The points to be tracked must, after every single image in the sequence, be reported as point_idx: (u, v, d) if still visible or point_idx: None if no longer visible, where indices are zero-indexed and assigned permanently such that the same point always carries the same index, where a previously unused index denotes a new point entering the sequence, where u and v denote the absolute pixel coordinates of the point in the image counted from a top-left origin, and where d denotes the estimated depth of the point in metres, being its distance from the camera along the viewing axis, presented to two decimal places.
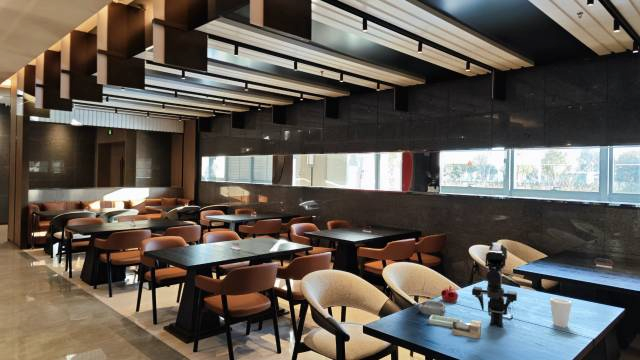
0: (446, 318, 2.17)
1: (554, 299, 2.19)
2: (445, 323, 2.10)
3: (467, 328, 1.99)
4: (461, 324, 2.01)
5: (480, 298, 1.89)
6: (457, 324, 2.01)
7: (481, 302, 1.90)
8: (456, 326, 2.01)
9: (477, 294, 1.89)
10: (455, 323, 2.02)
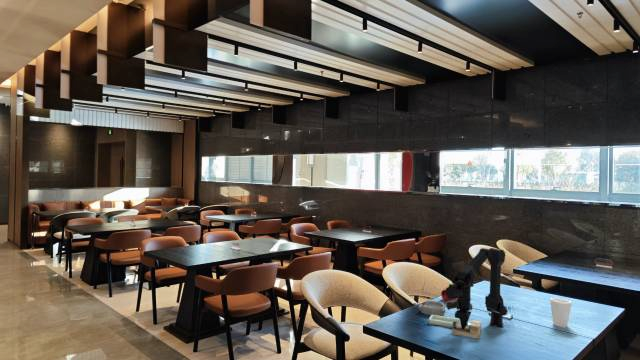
0: (446, 318, 2.17)
1: (554, 299, 2.19)
2: (445, 323, 2.10)
3: (467, 328, 1.99)
4: None
5: None
6: (457, 324, 2.01)
7: None
8: (456, 326, 2.01)
9: None
10: (455, 323, 2.02)
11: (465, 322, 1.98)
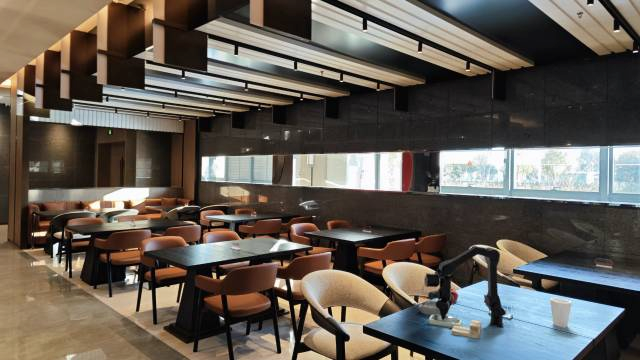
0: None
1: (554, 299, 2.19)
2: (445, 323, 2.10)
3: (447, 321, 2.12)
4: None
5: None
6: (438, 317, 2.14)
7: None
8: (437, 319, 2.14)
9: None
10: (436, 316, 2.15)
11: (445, 313, 2.08)
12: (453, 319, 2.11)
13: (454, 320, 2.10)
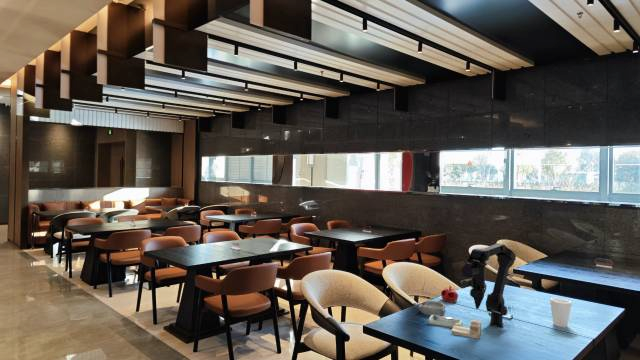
0: None
1: (554, 299, 2.19)
2: (445, 323, 2.10)
3: None
4: None
5: None
6: None
7: None
8: None
9: None
10: None
11: (479, 301, 1.98)
12: None
13: None
